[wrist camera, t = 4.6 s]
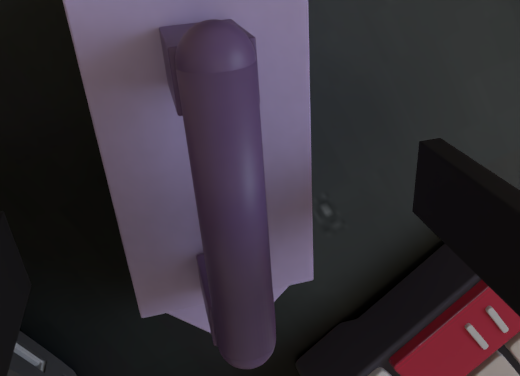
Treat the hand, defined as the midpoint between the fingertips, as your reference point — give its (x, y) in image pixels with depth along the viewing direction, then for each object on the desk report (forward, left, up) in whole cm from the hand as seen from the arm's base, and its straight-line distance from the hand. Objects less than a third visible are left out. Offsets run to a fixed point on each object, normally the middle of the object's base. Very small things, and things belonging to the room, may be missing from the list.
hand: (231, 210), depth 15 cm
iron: (0, 0, -6) cm, 6 cm away
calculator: (+13, -15, -6) cm, 20 cm away
